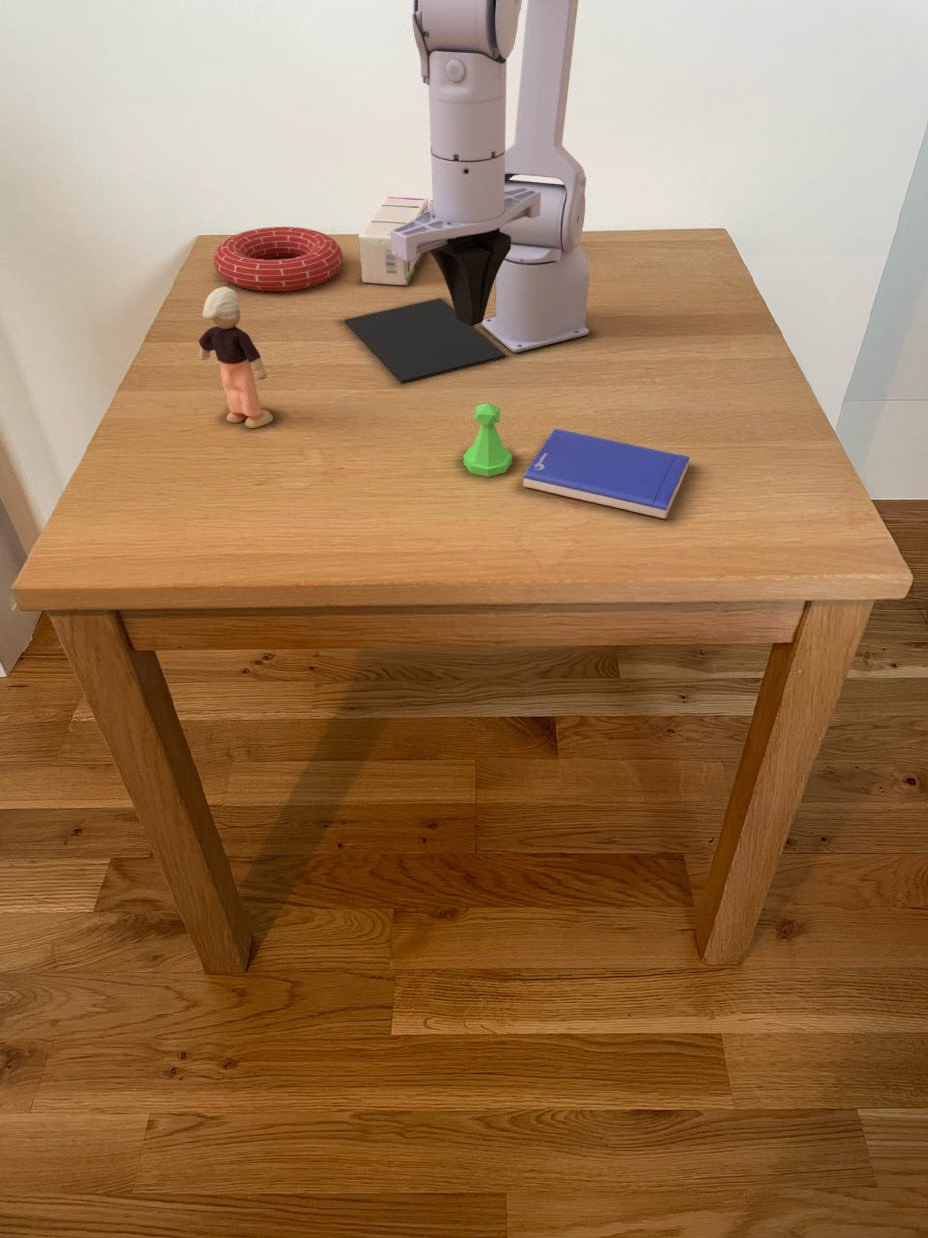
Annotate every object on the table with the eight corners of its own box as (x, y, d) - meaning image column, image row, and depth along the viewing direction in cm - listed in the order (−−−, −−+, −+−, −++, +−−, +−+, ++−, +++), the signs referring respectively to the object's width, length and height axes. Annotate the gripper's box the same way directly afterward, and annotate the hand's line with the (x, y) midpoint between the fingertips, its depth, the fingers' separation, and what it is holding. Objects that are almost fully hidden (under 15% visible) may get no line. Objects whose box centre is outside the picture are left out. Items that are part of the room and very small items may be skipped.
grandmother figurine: (290, 413, 88) (269, 284, 80) (271, 433, 86) (247, 302, 77) (220, 401, 90) (192, 274, 82) (200, 420, 88) (168, 291, 79)
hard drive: (523, 473, 78) (667, 505, 74) (555, 426, 83) (690, 454, 79) (522, 488, 79) (664, 521, 75) (554, 441, 84) (687, 469, 80)
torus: (195, 288, 111) (188, 258, 108) (249, 245, 121) (244, 217, 118) (315, 302, 107) (311, 272, 105) (361, 257, 117) (358, 228, 114)
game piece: (463, 477, 80) (462, 416, 76) (463, 450, 83) (462, 390, 79) (512, 476, 80) (514, 415, 76) (510, 449, 83) (511, 390, 79)
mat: (440, 300, 107) (440, 297, 107) (505, 357, 96) (505, 354, 96) (344, 322, 103) (344, 319, 103) (401, 383, 93) (401, 380, 92)
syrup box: (404, 238, 106) (431, 196, 117) (355, 235, 107) (386, 194, 117) (407, 286, 110) (433, 241, 120) (359, 283, 111) (389, 239, 121)
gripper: (500, 121, 76) (498, 282, 85) (360, 159, 69) (375, 330, 78) (562, 139, 72) (553, 306, 81) (420, 181, 65) (428, 359, 74)
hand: (469, 320), depth 79 cm, fingers closed
